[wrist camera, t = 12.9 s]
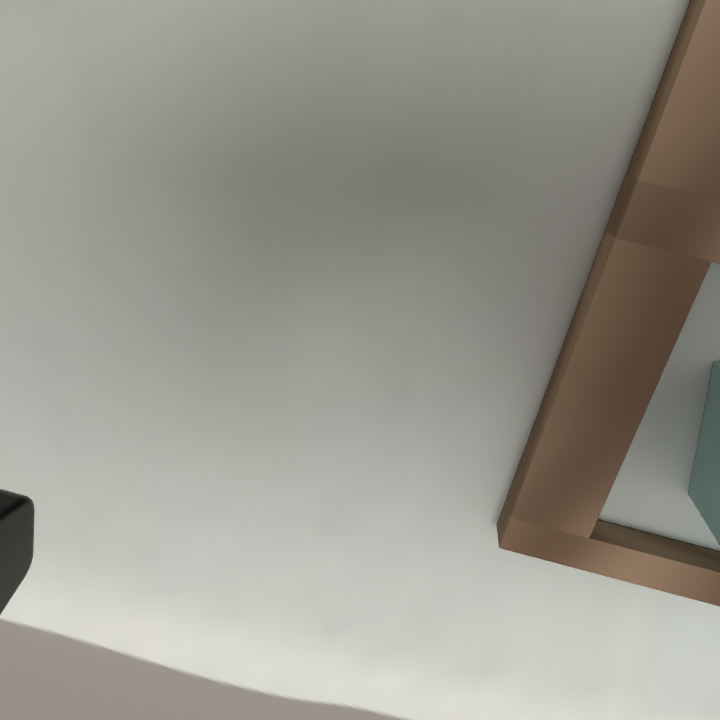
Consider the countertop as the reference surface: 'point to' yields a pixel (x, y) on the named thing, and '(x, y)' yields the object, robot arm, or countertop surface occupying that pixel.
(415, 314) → the countertop surface
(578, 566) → the socket board
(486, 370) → the countertop surface
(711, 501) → the teal tall rectangular block
